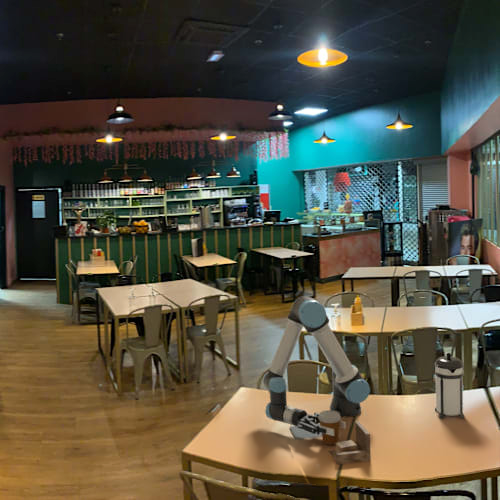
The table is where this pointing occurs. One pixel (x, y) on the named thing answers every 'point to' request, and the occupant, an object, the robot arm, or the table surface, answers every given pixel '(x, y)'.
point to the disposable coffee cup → (330, 425)
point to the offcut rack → (362, 447)
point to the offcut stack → (346, 446)
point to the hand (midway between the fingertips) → (339, 428)
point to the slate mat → (303, 433)
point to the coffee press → (449, 386)
